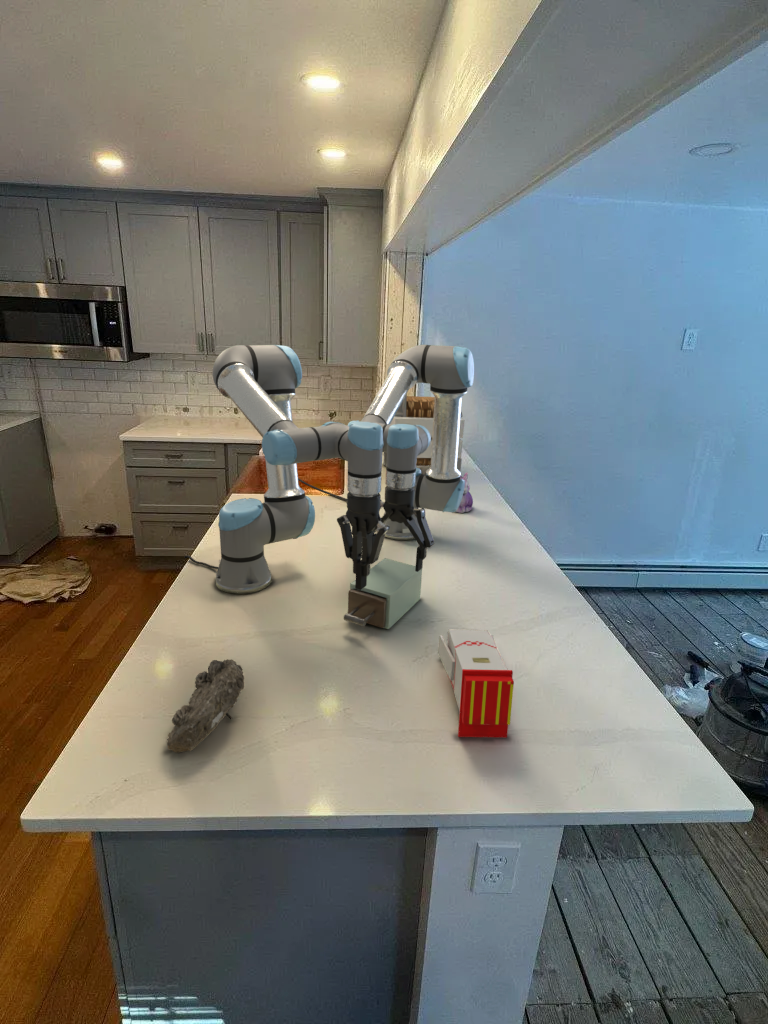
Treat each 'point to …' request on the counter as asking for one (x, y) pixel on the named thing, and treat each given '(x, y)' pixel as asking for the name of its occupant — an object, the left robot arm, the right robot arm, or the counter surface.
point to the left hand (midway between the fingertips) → (360, 586)
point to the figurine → (465, 497)
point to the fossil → (206, 705)
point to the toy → (478, 682)
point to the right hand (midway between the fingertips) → (395, 563)
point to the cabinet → (394, 587)
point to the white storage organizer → (422, 424)
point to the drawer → (366, 608)
